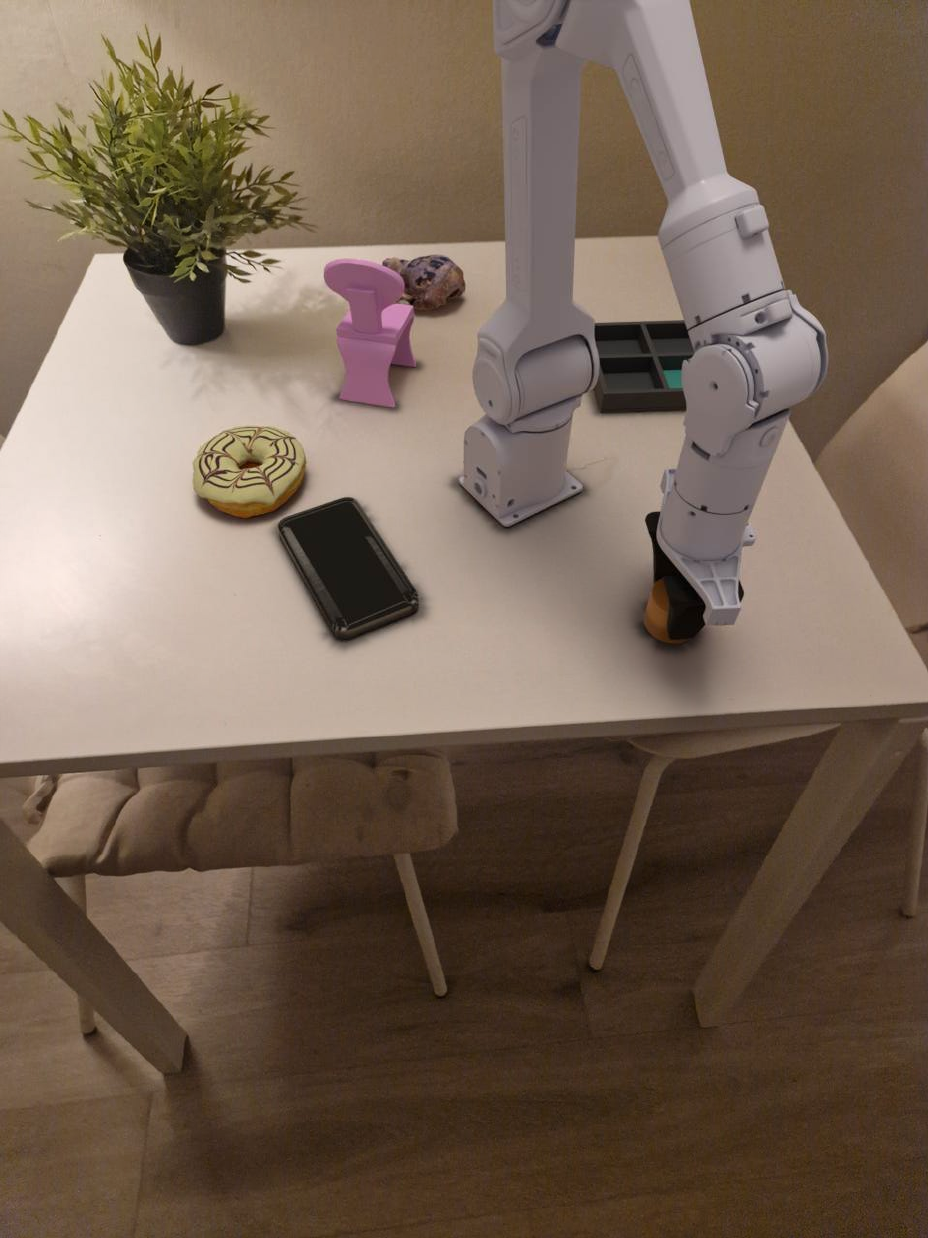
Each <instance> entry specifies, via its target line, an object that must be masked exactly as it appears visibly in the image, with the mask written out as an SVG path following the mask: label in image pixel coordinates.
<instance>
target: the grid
mask: <svg viewBox="0 0 928 1238" xmlns="http://www.w3.org/2000/svg"><path fill="white" fill-rule="evenodd" d="M689 330H691V329H689ZM689 330H687V327H686V324H685V321H684V319H680V320H679V319H675V320H649V321H648V320H646V321H645V320H643V321H613V322H612V321H611V322H595V328H594V337H595V343H596V347H597V350H598V354H599V362H600V368H599V376H598V380H597V383H596V385H595V387H594V388H593V391H594V394H595V398H596V401H597V405H598V409H599V413H602V414H603V413H628V412H629V413H630V412H653V411H654V412H656V411H657V412H658V411H659V412H660V411H686V410H687V406H686V399H685V395H684V392H683V387H682V365H683V361H684V360H687V361H688V359H690V358H692V357H693V355H694V353H695V352H694V349H693V346H692V343H691V340H690V337H689V334H688V331H689Z"/></svg>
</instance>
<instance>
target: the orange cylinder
mask: <svg viewBox="0 0 928 1238" xmlns="http://www.w3.org/2000/svg"><path fill="white" fill-rule="evenodd" d="M668 612H669V599H668V596H667V593H666V589H665V586H664V583H663V578H661V579H660V580H658V581H657V582H656V583H655V584H654V583H653V585H652V587H651V590H650V593H649V597H648V600H647V605H646V607H645V610H644V615H643V625H644V628H645V629H646V630H647V632H648V633H649V634H650V635H651V636H652V637H653V638H655V639H656V640H658V641H661V642H663V643H668V644H681V643H685V642H688V641H689V640H690V639H678V640H670V639H669V636H668V633H667V619H668Z"/></svg>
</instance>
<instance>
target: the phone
mask: <svg viewBox="0 0 928 1238" xmlns="http://www.w3.org/2000/svg"><path fill="white" fill-rule="evenodd" d="M277 528H278V532H279V536H280V539H281V541H282V542H283V544H284V546H285V549H286V550H287V552H288V554H289V556H290V557H291V559H292V561H293V563H294V565H295V567H296V568H297V570H298V572H299V574H300V576H301V578H302V579H303V581H304V583H305V585H306V587H307V589H308V591H309V592H310V594H311V596H312V598H313V600H314V602H315V603H316V605H317V607H318V609H319V611H320V613H321V614H322V616H323V619H324V620H325V622H326V623H327V626H328V627H329V629H330V631H331V633H332V634H333V636H334V637H335V638H337V639H339V640H350V639H353V638H355V637H357V636H358V637H359V636H361V635H363V634H365V633H368V632H371V631H373V630H376V629H379V628H380V627H383V626H385V625H388V624H390V623H393V622H395V621H398V620H401V619H403V618H405V617H408V616H410V615H412V614H414V613H415V612H416V611H418V609H419V606H420V605H419V604H420V603H419V593H418V591H417V590H416V588H415V586H414V585H413V584H412V582H411V580H410V579H409V577H408V576H407V575H406V573H405V572H404V570H403V568H402V567H401V565H400V563H399V562H398V561H397V559H396V557H395V556H394V554H393V553H392V552H391V550H390V549H389V547H388V546H387V544H386V542H385V541H384V539H383V538H382V536H381V534H380V533H379V532H378V530H377V528H376V527H375V525H374V524H373V522H372V520H370V517H369V516H368V515H367V513H366V512H365V510H364V509H363V507H362V506H361V504H360V502H359V501H358V500H357V499H356V498H354V497H350V496H344V497H340V498H337V499H334V500H332V501H329V502H326V503H322V504H320V505H316V506H314V507H311V508H308V509H305V510H302V511H299V512H297V513H293V514H290V515H287V516H285V517H282V518H281V519H280V520H279V521H278V524H277Z"/></svg>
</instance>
